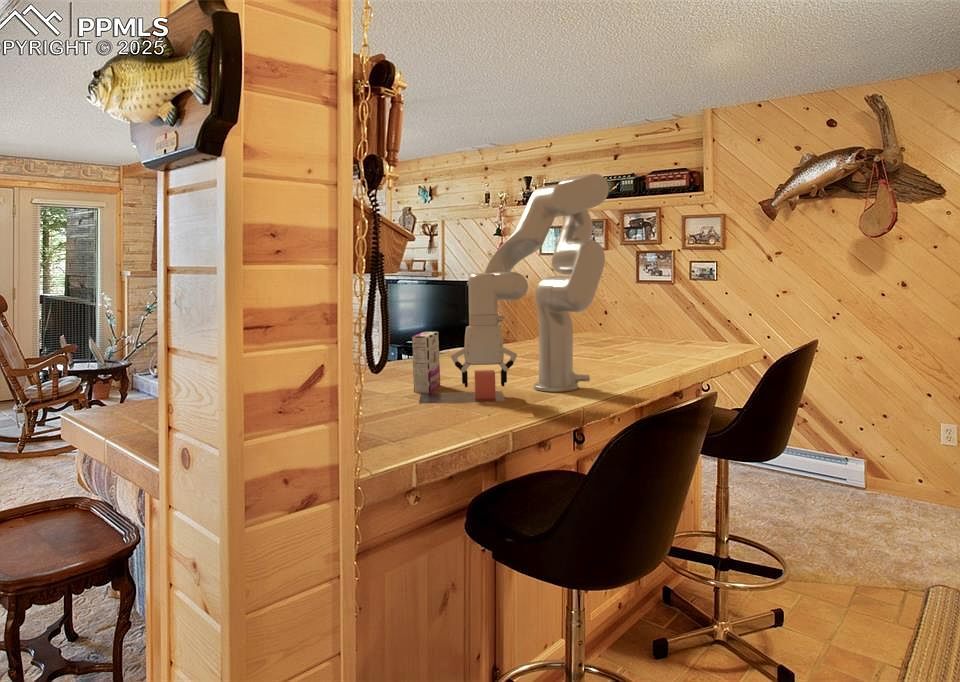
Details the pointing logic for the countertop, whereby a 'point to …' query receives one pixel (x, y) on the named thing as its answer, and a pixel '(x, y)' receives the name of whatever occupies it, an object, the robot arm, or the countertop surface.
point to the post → (457, 397)
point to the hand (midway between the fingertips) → (484, 385)
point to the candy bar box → (426, 362)
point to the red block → (484, 384)
